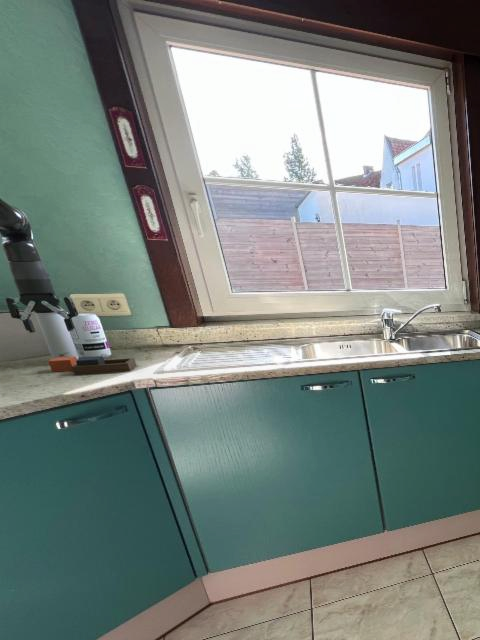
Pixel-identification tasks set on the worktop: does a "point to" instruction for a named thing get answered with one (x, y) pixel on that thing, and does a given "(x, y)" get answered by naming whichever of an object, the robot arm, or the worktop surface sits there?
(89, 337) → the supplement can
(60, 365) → the pad
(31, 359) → the worktop surface
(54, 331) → the travel mug
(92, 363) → the pad
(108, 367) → the tray
